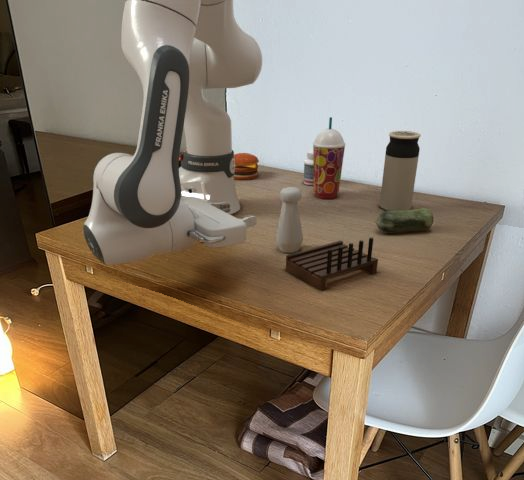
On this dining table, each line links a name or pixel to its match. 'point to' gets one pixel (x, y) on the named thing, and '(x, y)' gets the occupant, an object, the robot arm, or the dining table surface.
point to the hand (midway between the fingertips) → (240, 213)
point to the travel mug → (399, 170)
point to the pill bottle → (309, 169)
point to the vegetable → (405, 220)
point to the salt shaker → (289, 221)
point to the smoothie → (328, 162)
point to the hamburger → (245, 166)
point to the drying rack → (330, 262)
